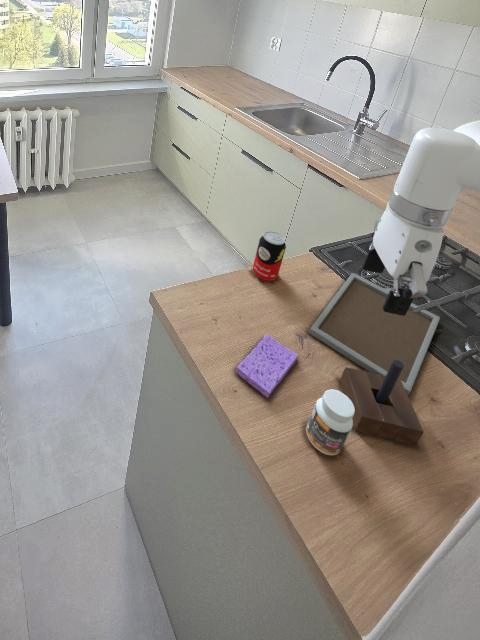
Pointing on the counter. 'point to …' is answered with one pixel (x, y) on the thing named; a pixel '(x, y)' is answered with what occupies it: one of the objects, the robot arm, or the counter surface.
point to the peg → (389, 382)
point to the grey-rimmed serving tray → (375, 330)
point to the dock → (381, 407)
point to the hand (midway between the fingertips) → (381, 290)
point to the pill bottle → (330, 422)
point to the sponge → (266, 365)
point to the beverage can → (269, 255)
